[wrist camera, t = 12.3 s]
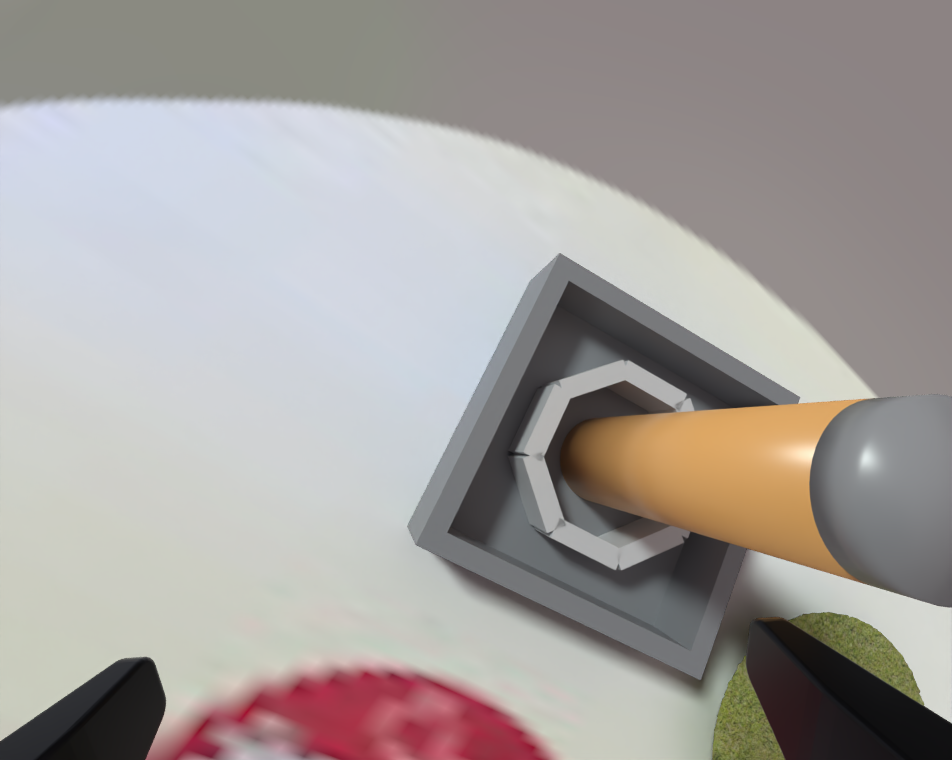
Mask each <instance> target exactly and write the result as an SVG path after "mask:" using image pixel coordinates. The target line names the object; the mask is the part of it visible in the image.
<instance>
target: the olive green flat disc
mask: <svg viewBox="0 0 952 760" xmlns="http://www.w3.org/2000/svg"><path fill="white" fill-rule="evenodd" d="M787 621H789V622H791V623H792V624H794V625H795V626H797V627H799V628H800V629H802V630H803V631H805V632H807V633H808V634H810V635H811V636H813V637H815V638H816V639H818V640H819V641H821V642H823V643H824V644H826V645H827V646H829V647H831V648H832V649H834V650H835V651H837V652H839V653H840V654H842V655H843V656H845V657H847V658H848V659H850V660H851V661H853V662H855V663H856V664H858V665H859V666H861V667H862V668H864V669H866V670H867V671H869V672H870V673H872V674H874V675H875V676H877V677H878V678H880V679H882V680H883V681H885V682H886V683H888V684H890V685H891V686H893V687H894V688H896V689H898V690H899V691H901V692H902V693H904V694H906V695H907V696H909V697H910V698H912V699H914V700H915V701H917V702H918V703H920V704H921V705H923V706H924V703H923V701H922V699H921V696H920V694H919V693H920V690H919V688H918V687H917V684H916V681H915V679H914V676H913V672H912V671H911V670H910V668H909V667H908V665H907V663H906V662H905V660H904V658H903V656H902V655H901V654H900V653H899V652H898V650H897V649H896V648H895V647H894V646H893V644H892V643H891V642H890V641H889V640H888V639H887V638H886V637H885V636H884V635H883V634H882V633H881V632H879V631H878V630H877V629H875V628H873V626H871V625H869V624H866V623H865V622H862V621H860V620H859V619H857V618H854V617H850V618H849V616H848V615H842V614H835V613H830V612H827V613H824V612H823V613H810V614H803V615H802V616H801V615H800V616H798V617H796V618H794V619H791V620H787ZM737 668H738V670H737V671H736V672H735V674H734V676H733V678H732V680H731V681H730V682H729V683H728V688H727V690H726V692H725V694H724V695H725V697H724V698H723V700H722V703H721V706H720V710H719V713H718V715H717V717H718V718H717V723H716V727H715V729H714V743H713V753H712V757H713V760H785V758H784V756H783V754H782V751H781V749H780V747H779V745H778V742H777V740H776V738H775V736H774V733H773V731H772V729H771V727H770V724H769V722H768V720H767V718H766V715H765V713H764V711H763V709H762V706H761V704H760V702H759V700H758V697H757V695H756V693H755V691H754V688H753V686H752V684H751V682H750V679H749V676H748V673H747V669H746V656H744V658H743V661H742V663H740V664H738V666H737Z"/></svg>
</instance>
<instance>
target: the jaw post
mask: <svg viewBox="0 0 952 760" xmlns="http://www.w3.org/2000/svg"><path fill="white" fill-rule="evenodd" d="M560 466H561V471H562V474H563V477H564V479H565V481H566V483H567V485H568V486H569V487H570V489H571V490H572V491H573V492H574V493H575V494H577V495H578V496H580V497H581V498H583V499H585V500H588V501H591V502H594V503H598V504H601V505H604V506H608V507H611V508H614V509H618V510H621V511H624V512H627V513H631V514H634V515H637V516H641V517H644V518H647V519H651V520H654V521H657V522H661V523H664V524H667V525H671V526H674V527H677V528H681V529H684V530H687V531H691V532H694V533H697V534H701V535H704V536H707V537H711V538H714V539H717V540H721V541H724V542H727V543H731V544H734V545H737V546H741V547H744V548H747V549H751V550H754V551H757V552H761V553H764V554H767V555H771V556H774V557H777V558H781V559H784V560H787V561H791V562H794V563H797V564H801V565H804V566H807V567H811V568H814V569H817V570H820V571H824V572H827V573H830V574H834V575H837V576H840V577H844V578H847V579H850V580H854V581H857V582H860V583H864V584H867V585H870V586H874V587H877V588H880V589H884V590H887V591H890V592H894V593H897V594H900V595H904V596H907V597H910V598H914V599H917V600H920V601H924V602H927V603H930V604H934V605H937V606H943V607H952V397H951V396H947V395H938V394H929V395H915V396H902V397H887V398H873V399H858V400H844V401H830V402H816V403H801V404H787V405H773V406H759V407H745V408H730V409H716V410H702V411H688V412H673V413H659V414H645V415H631V416H616V417H602V418H591V419H587V420H585V421H582V422H580V423H579V424H577V425H576V426H575V427H574V428H573V429H572V430H571V431H570V432H569V433H568V434H567V436H566V438H565V440H564V442H563V444H562V448H561V453H560Z"/></svg>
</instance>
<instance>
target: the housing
mask: <svg viewBox="0 0 952 760" xmlns="http://www.w3.org/2000/svg"><path fill="white" fill-rule="evenodd" d="M799 399H800V397H799V396H797V395H795V394H794V393H792V392H790V391H789V390H787V389H785V388H784V387H782V386H780V385H779V384H777V383H775V382H774V381H772V380H770V379H769V378H767V377H765V376H764V375H762V374H760V373H759V372H757V371H755V370H754V369H752V368H750V367H749V366H747V365H745V364H744V363H742V362H740V361H739V360H737V359H735V358H734V357H732V356H730V355H729V354H727V353H725V352H724V351H722V350H720V349H719V348H717V347H715V346H714V345H712V344H710V343H709V342H707V341H705V340H704V339H702V338H700V337H699V336H697V335H695V334H694V333H692V332H690V331H689V330H687V329H685V328H684V327H682V326H680V325H679V324H677V323H675V322H674V321H672V320H670V319H669V318H667V317H665V316H664V315H662V314H660V313H659V312H657V311H655V310H654V309H652V308H650V307H649V306H647V305H645V304H644V303H642V302H640V301H639V300H637V299H635V298H634V297H632V296H630V295H629V294H627V293H625V292H624V291H622V290H620V289H619V288H617V287H615V286H614V285H612V284H610V283H609V282H607V281H605V280H604V279H602V278H600V277H599V276H597V275H595V274H594V273H592V272H590V271H589V270H587V269H585V268H584V267H582V266H580V265H579V264H577V263H575V262H574V261H572V260H570V259H569V258H567V257H565V256H564V255H562V254H560V253H559V254H558V255H557V256H556V257H555V258H554V259H553V260H552V261H551V262H550V263H549V264H548V265H547V266H546V267H544V268H543V269H542V270H541V271H540V272H539V273H538V274H537V275H536V276H535V277H534V278H533V279H532V280H531V281H530V282H529V284H528V286H527V288H526V290H525V292H524V294H523V296H522V298H521V300H520V302H519V304H518V306H517V308H516V310H515V312H514V314H513V316H512V318H511V320H510V322H509V324H508V326H507V328H506V330H505V332H504V334H503V336H502V338H501V340H500V342H499V344H498V346H497V348H496V350H495V352H494V354H493V356H492V358H491V360H490V362H489V364H488V366H487V368H486V370H485V372H484V374H483V376H482V378H481V380H480V382H479V384H478V386H477V388H476V390H475V392H474V394H473V396H472V398H471V400H470V402H469V404H468V406H467V408H466V410H465V412H464V414H463V416H462V418H461V420H460V422H459V424H458V426H457V428H456V430H455V432H454V434H453V436H452V438H451V440H450V442H449V444H448V446H447V448H446V450H445V452H444V454H443V456H442V458H441V460H440V462H439V464H438V466H437V468H436V470H435V472H434V474H433V476H432V478H431V480H430V482H429V484H428V486H427V488H426V490H425V492H424V494H423V496H422V498H421V500H420V502H419V504H418V506H417V508H416V510H415V512H414V514H413V516H412V518H411V520H410V522H409V524H408V526H407V527H408V529H409V531H410V533H411V536H412V538H413V540H414V542H415V545H417V546H419V547H421V548H423V549H425V550H428V551H430V552H432V553H434V554H436V555H438V556H440V557H442V558H444V559H446V560H449V561H451V562H453V563H455V564H457V565H459V566H461V567H463V568H465V569H467V570H470V571H472V572H474V573H476V574H478V575H480V576H482V577H484V578H486V579H488V580H491V581H493V582H495V583H497V584H499V585H501V586H503V587H505V588H507V589H509V590H512V591H514V592H516V593H518V594H520V595H522V596H524V597H526V598H528V599H531V600H533V601H535V602H537V603H539V604H541V605H543V606H545V607H547V608H549V609H552V610H554V611H556V612H558V613H560V614H562V615H564V616H566V617H568V618H570V619H573V620H575V621H577V622H579V623H581V624H583V625H585V626H587V627H589V628H591V629H594V630H596V631H598V632H600V633H602V634H604V635H606V636H608V637H610V638H612V639H615V640H617V641H619V642H621V643H623V644H625V645H627V646H629V647H631V648H633V649H636V650H638V651H640V652H642V653H644V654H646V655H648V656H650V657H652V658H654V659H657V660H659V661H661V662H663V663H665V664H667V665H669V666H671V667H673V668H675V669H678V670H680V671H682V672H684V673H686V674H688V675H690V676H692V677H694V678H697V679H699V680H701V678H702V675H703V672H704V670H705V667H706V664H707V661H708V658H709V655H710V652H711V650H712V647H713V644H714V641H715V638H716V635H717V633H718V630H719V627H720V624H721V621H722V618H723V615H724V613H725V610H726V607H727V604H728V601H729V598H730V596H731V593H732V590H733V587H734V584H735V581H736V578H737V576H738V573H739V570H740V567H741V564H742V561H743V559H744V556H745V553H746V550H747V548H744V547H741V546H737V545H734V544H731V543H727V542H724V541H721V540H717V539H714V538H711V537H707V536H704V535H701V534H697V533H694V532H691V531H687V530H684V529H681V528H677V527H674V526H671V525H667V524H664V523H661V522H657V521H654V520H651V519H647V518H644V517H641V516H637V515H634V514H631V513H627V512H624V511H621V510H618V509H614V508H611V507H608V506H604V505H601V504H598V503H594V502H591V501H588V500H585V499H583V498H581V497H580V496H578V495H577V494H575V493H574V492H573V491H572V490H571V489H570V487H569V486H568V485H567V483H566V481H565V479H564V477H563V474H562V471H561V466H560V453H561V448H562V444H563V442H564V440H565V438H566V436H567V434H568V433H569V432H570V431H571V430H572V429H573V428H574V427H575V426H576V425H577V424H579V423H580V422H582V421H585V420H587V419H591V418H602V417H616V416H631V415H645V414H659V413H673V412H688V411H702V410H716V409H730V408H745V407H759V406H773V405H787V404H798V402H799Z"/></svg>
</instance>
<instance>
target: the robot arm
mask: <svg viewBox="0 0 952 760" xmlns="http://www.w3.org/2000/svg"><path fill="white" fill-rule="evenodd" d="M746 669H747V673H748V676H749V679H750V682H751V684H752V686H753V688H754V691H755V693H756V695H757V697H758V700H759V702H760V704H761V706H762V709H763V711H764V713H765V715H766V718H767V720H768V722H769V724H770V727H771V729H772V731H773V733H774V736H775V738H776V740H777V742H778V745H779V747H780V749H781V751H782V754H783V756H784V758H785V760H952V723H950V722H949V721H947V720H945V719H944V718H942V717H941V716H939V715H937V714H936V713H934V712H933V711H931V710H929V709H928V708H926V707H925V706H923V705H921V704H920V703H918V702H917V701H915V700H914V699H912V698H910V697H909V696H907V695H906V694H904V693H902V692H901V691H899V690H898V689H896V688H894V687H893V686H891V685H890V684H888V683H886V682H885V681H883V680H882V679H880V678H878V677H877V676H875V675H874V674H872V673H870V672H869V671H867V670H866V669H864V668H862V667H861V666H859V665H858V664H856V663H855V662H853V661H851V660H850V659H848V658H847V657H845V656H843V655H842V654H840V653H839V652H837V651H835V650H834V649H832V648H831V647H829V646H827V645H826V644H824V643H823V642H821V641H819V640H818V639H816V638H815V637H813V636H811V635H810V634H808V633H807V632H805V631H803V630H802V629H800V628H799V627H797V626H795V625H794V624H792V623H791V622H789V621H787V620H786V619H783V618H780V617H768V618H756V619H754V620H753V621H752V622H751V624H750V629H749V637H748V646H747V654H746ZM165 707H166V697H165V693H164V690H163V687H162V684H161V681H160V678H159V675H158V671H157V668H156V665H155V663H154V661H153V660H152V659H151V658H149V657H136V658H125V659H121V660H118V661H117V662H115V663H114V664H112V665H111V666H109V667H108V668H106V669H105V670H103V671H102V672H100V673H99V674H98V675H96V676H95V677H93V678H92V679H90V680H89V681H87V682H86V683H84V684H83V685H82V686H80V687H79V688H77V689H76V690H74V691H73V692H71V693H70V694H68V695H67V696H66V697H64V698H63V699H61V700H60V701H58V702H57V703H55V704H54V705H52V706H51V707H50V708H48V709H47V710H45V711H44V712H42V713H41V714H39V715H38V716H36V717H35V718H34V719H32V720H31V721H29V722H28V723H26V724H25V725H23V726H22V727H20V728H19V729H18V730H16V731H15V732H13V733H12V734H10V735H9V736H7V737H6V738H4V739H3V740H2V741H0V760H145V759H146V757H147V755H148V752H149V750H150V747H151V745H152V743H153V740H154V738H155V735H156V733H157V731H158V728H159V726H160V723H161V721H162V718H163V716H164V712H165Z"/></svg>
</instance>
